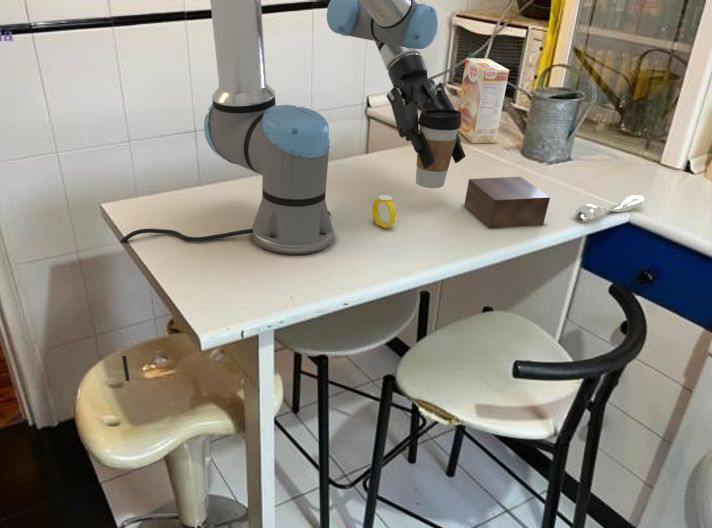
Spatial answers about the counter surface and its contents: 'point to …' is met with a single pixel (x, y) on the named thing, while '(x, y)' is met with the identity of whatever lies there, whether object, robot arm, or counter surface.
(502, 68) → the coffeecake box
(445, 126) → the coffee cup
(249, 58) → the robot arm
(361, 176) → the counter surface
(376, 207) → the watch
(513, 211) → the walnut block
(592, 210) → the silver scoop
